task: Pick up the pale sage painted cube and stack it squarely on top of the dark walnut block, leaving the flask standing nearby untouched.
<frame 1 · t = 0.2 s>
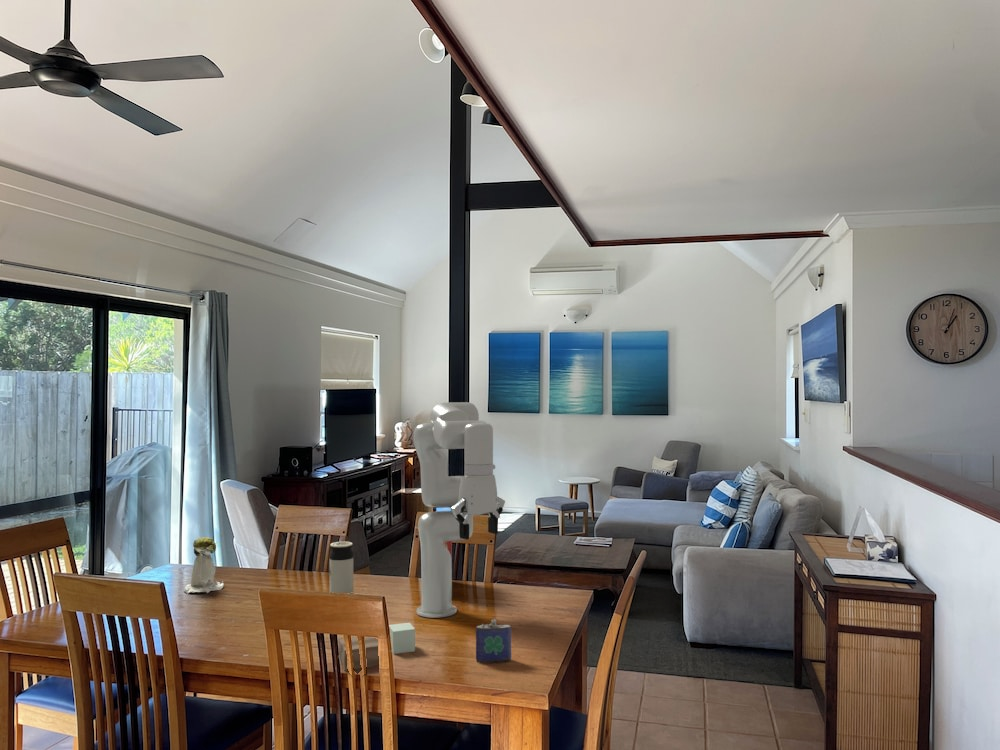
hand: (478, 535, 194), 32 cm above the table, tool pointing down, fingers open, 9 cm apart
flask: (493, 661, 192), on the table
walnut block: (360, 661, 193), on the table
travel mug: (341, 597, 254), on the table
game box: (444, 590, 262), on the table
sage block: (401, 649, 202), on the table
white figurine: (204, 590, 264), on the table
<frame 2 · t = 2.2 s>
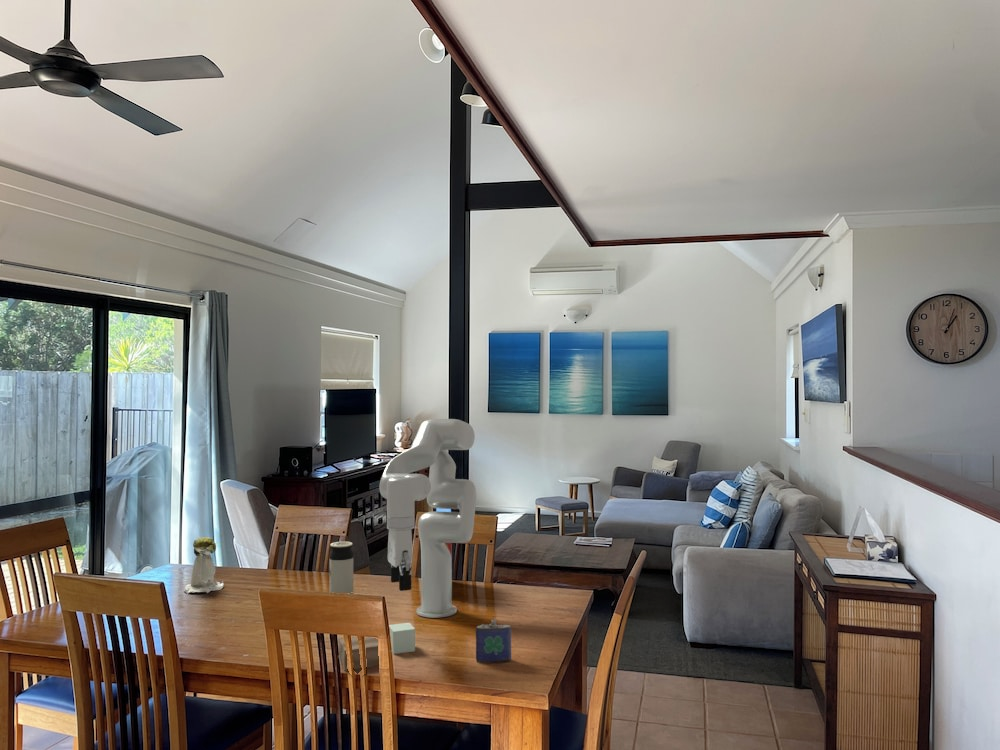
hand: (400, 585, 202), 17 cm above the table, tool pointing down, fingers open, 9 cm apart
nothing on the table moved.
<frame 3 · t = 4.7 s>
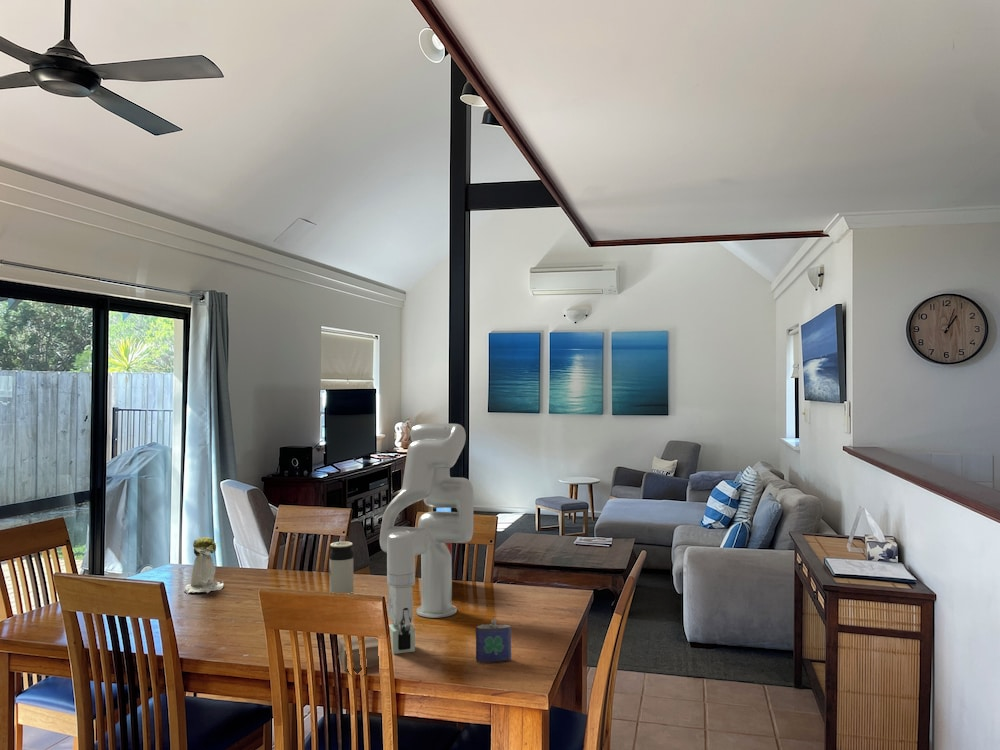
hand: (401, 644, 202), 1 cm above the table, tool pointing down, fingers closed on sage block, 6 cm apart
sage block: (401, 648, 202), on the table, touching gripper
everything else where it was.
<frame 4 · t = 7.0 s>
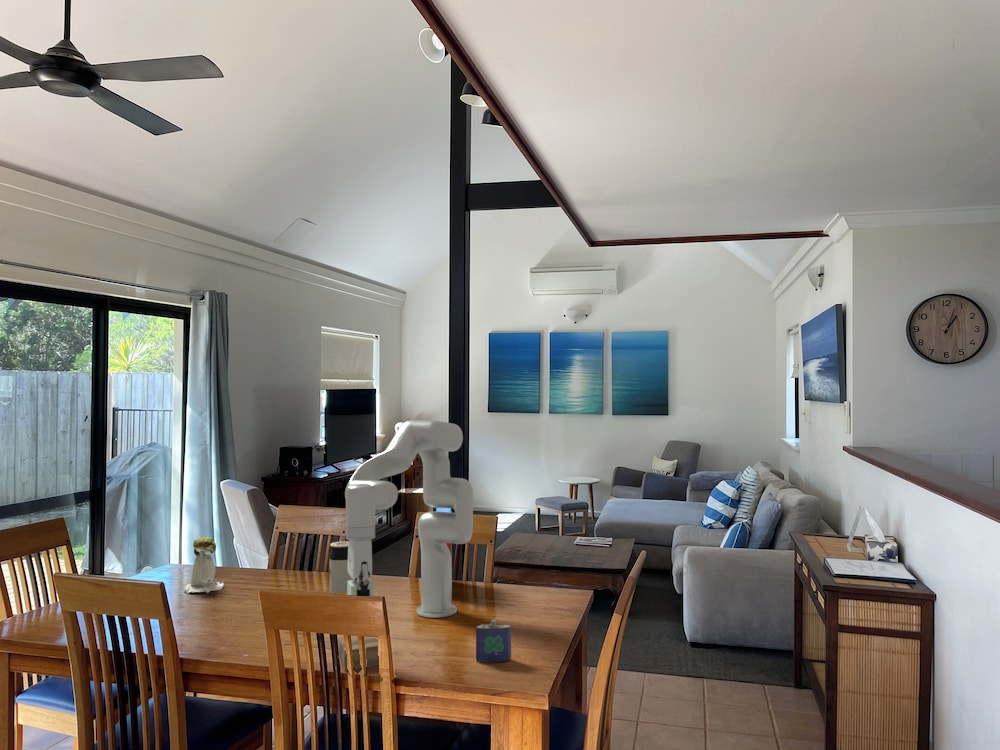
hand: (360, 601, 193), 16 cm above the table, tool pointing down, fingers closed on sage block, 6 cm apart
sage block: (360, 605, 193), point 14 cm above the table, touching gripper
everything else where it was.
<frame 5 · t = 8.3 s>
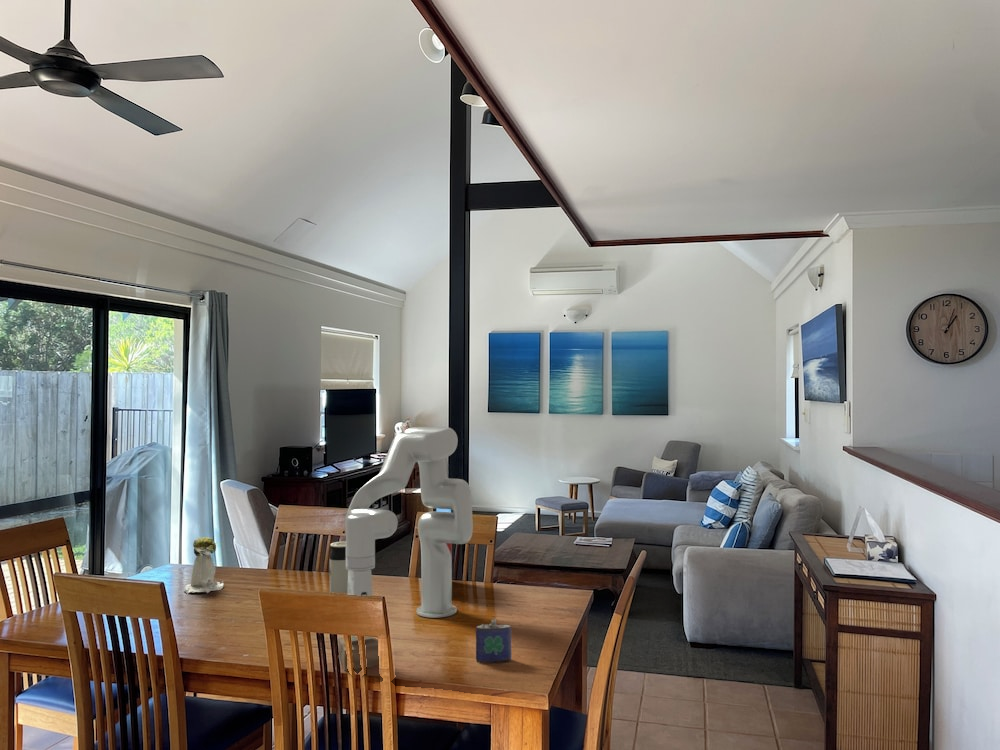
hand: (360, 630, 193), 8 cm above the table, tool pointing down, fingers closed on sage block, 6 cm apart
sage block: (360, 635, 193), point 7 cm above the table, touching gripper
everything else where it was.
when the fingers open (7 cm above the table, at t = 9.3 s): sage block stays where it is, resting on walnut block.
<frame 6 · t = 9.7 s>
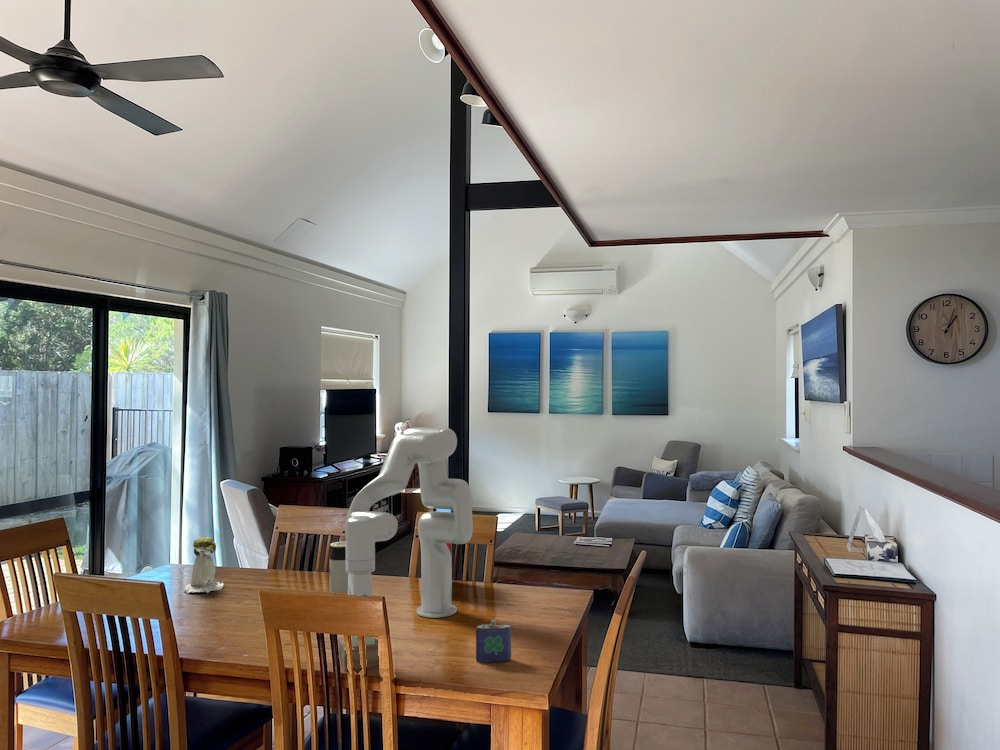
hand: (360, 631, 193), 8 cm above the table, tool pointing down, fingers open, 9 cm apart
sage block: (361, 641, 193), point 5 cm above the table, touching walnut block
everything else where it was.
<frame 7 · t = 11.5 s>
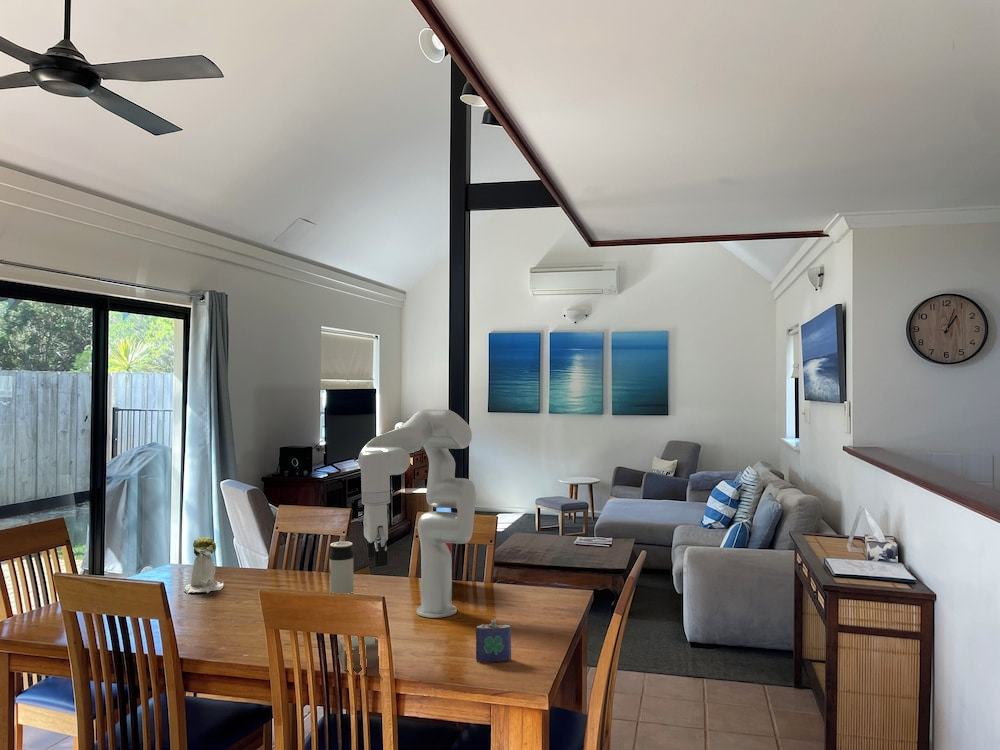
hand: (377, 561, 198), 25 cm above the table, tool pointing down, fingers open, 9 cm apart
nothing on the table moved.
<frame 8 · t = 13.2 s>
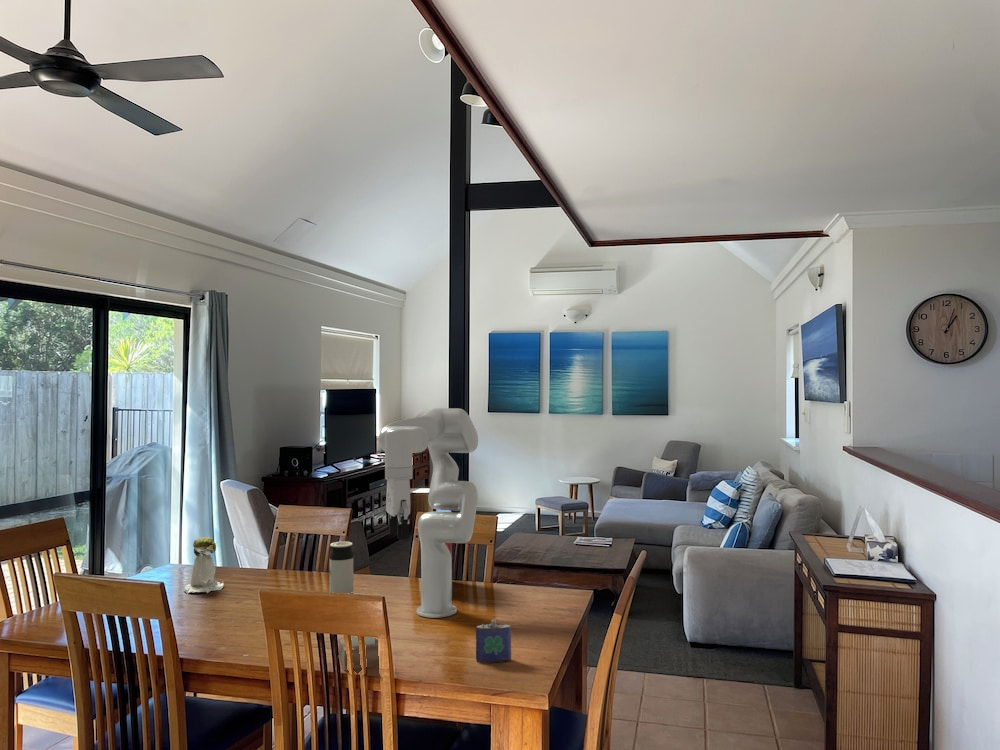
hand: (399, 535, 204), 30 cm above the table, tool pointing down, fingers open, 9 cm apart
nothing on the table moved.
at the end: sage block inside the target area on the walnut block (0.1 cm from its centre), point 5.0 cm above the walnut block's base; sage block tilted 0°; the gripper is holding nothing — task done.
